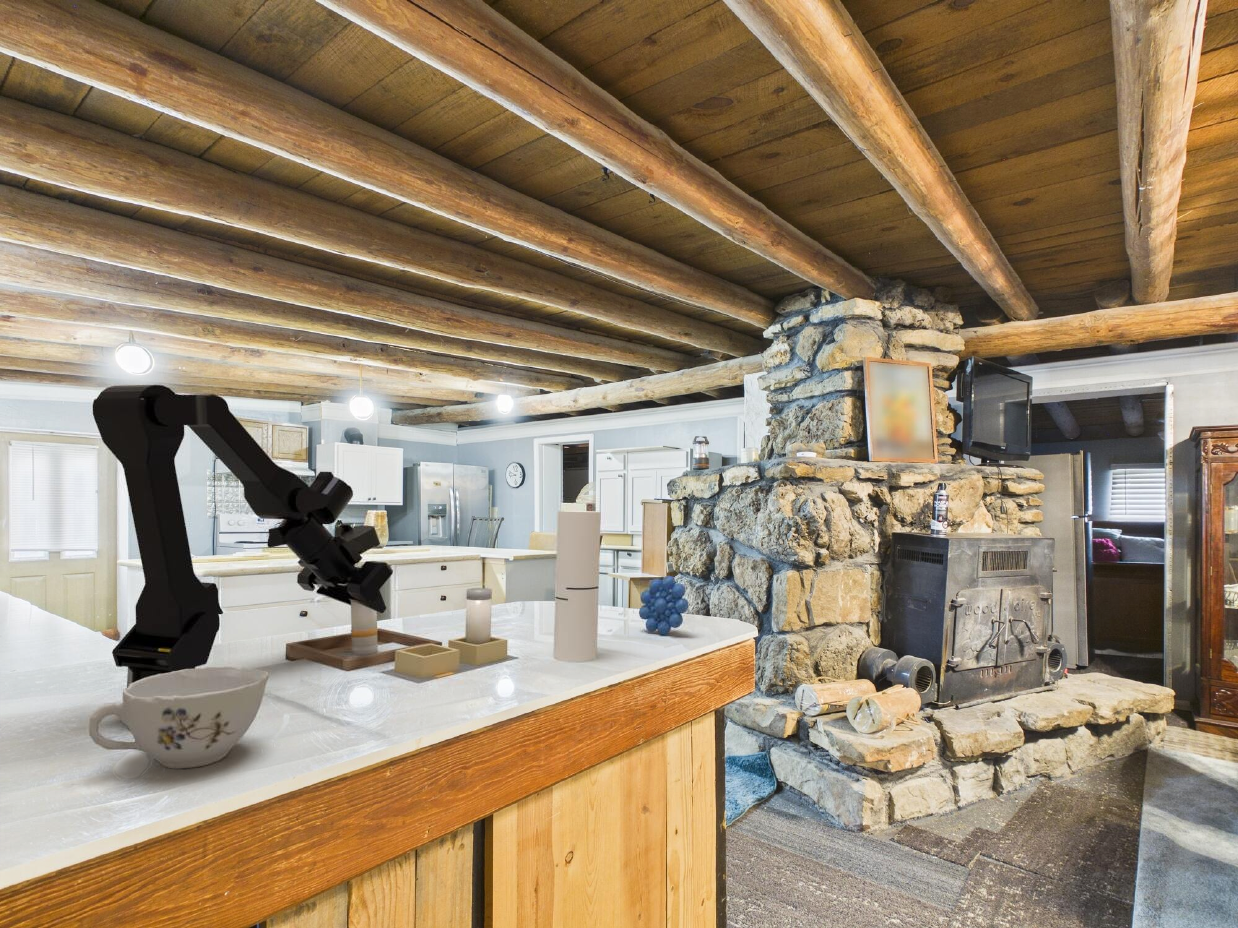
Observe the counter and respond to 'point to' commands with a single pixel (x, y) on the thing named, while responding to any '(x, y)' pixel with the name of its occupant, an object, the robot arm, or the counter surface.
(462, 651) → the block
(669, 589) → the grapes
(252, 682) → the teacup
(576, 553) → the cylindrical container
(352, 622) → the ball
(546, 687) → the counter surface
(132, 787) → the counter surface
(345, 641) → the tray
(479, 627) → the cylinder
